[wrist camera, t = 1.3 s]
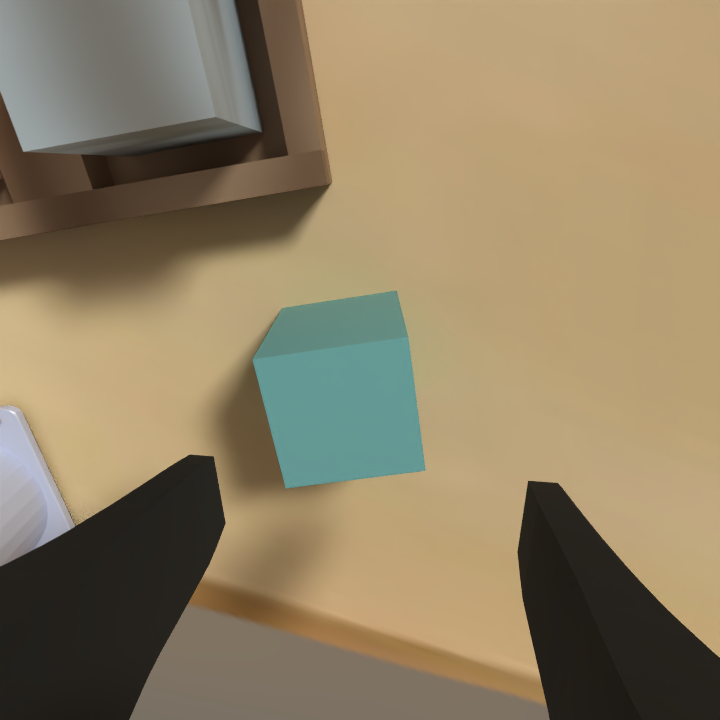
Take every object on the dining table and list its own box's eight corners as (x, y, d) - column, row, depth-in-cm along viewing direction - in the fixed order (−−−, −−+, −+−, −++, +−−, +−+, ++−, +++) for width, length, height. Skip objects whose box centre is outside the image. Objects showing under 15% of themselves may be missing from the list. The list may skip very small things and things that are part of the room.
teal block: (305, 409, 21) (285, 488, 16) (282, 307, 19) (252, 359, 14) (410, 394, 20) (425, 470, 15) (396, 290, 19) (408, 336, 14)
